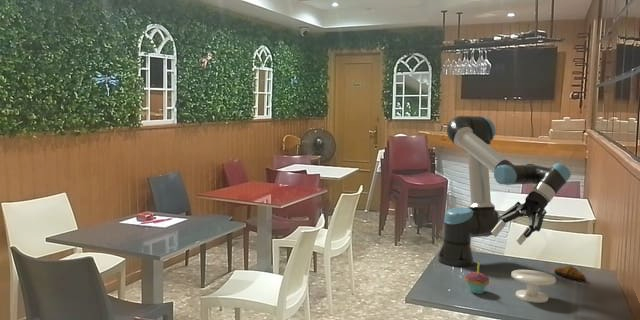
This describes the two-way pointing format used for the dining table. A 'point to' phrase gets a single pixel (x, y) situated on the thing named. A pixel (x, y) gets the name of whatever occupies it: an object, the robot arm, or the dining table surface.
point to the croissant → (570, 273)
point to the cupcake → (477, 281)
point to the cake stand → (532, 284)
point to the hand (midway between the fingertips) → (505, 238)
